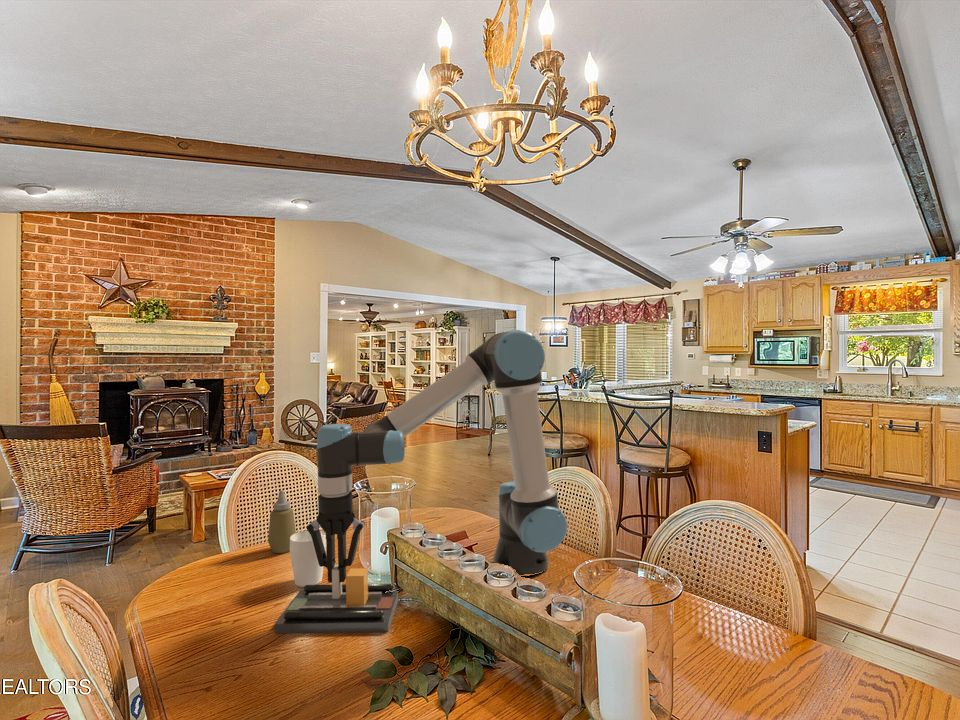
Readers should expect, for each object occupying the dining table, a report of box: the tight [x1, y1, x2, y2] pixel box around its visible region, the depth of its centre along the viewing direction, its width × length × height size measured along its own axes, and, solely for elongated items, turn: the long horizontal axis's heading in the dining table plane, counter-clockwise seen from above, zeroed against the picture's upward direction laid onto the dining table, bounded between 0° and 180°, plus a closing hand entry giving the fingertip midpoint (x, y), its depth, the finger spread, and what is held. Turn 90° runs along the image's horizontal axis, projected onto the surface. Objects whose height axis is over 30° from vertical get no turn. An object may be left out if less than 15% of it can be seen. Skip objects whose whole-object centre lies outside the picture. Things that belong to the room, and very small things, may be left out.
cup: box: [289, 529, 327, 588], centre depth 129 cm, size 9×9×12 cm
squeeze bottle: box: [267, 490, 297, 554], centre depth 150 cm, size 8×8×18 cm
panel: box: [274, 583, 399, 634], centre depth 113 cm, size 24×16×4 cm, turn 90°
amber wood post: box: [345, 567, 369, 605], centre depth 113 cm, size 4×4×7 cm
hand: (337, 595), depth 113 cm, fingers closed
